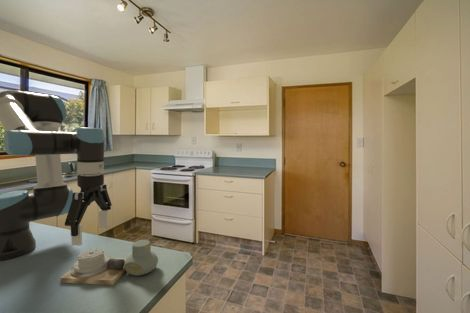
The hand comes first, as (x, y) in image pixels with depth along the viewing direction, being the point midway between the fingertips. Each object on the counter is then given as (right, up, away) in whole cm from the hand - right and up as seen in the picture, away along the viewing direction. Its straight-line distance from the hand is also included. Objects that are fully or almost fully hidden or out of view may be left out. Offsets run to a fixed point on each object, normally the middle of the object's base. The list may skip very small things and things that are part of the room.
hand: (91, 235), depth 78 cm
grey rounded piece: (+16, -13, +2) cm, 21 cm away
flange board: (+2, -13, +1) cm, 13 cm away
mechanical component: (0, -11, +1) cm, 11 cm away
